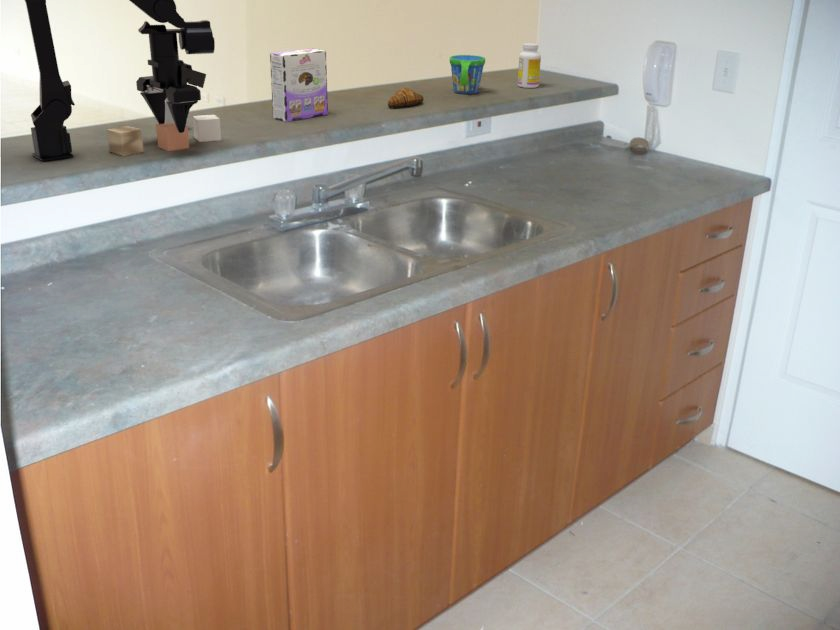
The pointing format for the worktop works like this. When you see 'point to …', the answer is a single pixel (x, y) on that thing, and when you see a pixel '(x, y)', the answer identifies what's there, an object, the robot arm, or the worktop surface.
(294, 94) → the cake mix box
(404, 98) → the croissant
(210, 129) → the off-white cube
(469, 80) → the snack cup
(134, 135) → the oak cube
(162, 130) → the terracotta cube
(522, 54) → the supplement bottle
